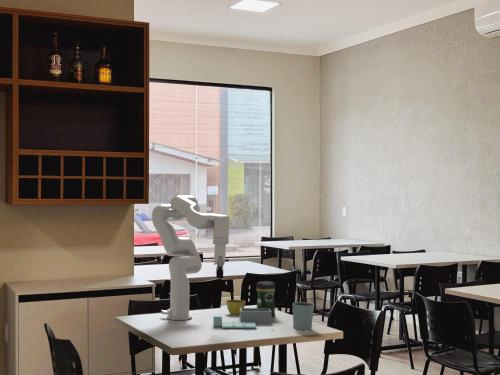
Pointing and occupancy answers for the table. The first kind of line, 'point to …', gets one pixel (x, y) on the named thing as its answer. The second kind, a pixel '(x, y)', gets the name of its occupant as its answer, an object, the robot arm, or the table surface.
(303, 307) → the grey-blue tapered cup
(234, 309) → the flower pot
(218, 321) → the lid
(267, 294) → the coffee jar
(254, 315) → the tub
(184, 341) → the table surface
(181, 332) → the table surface
